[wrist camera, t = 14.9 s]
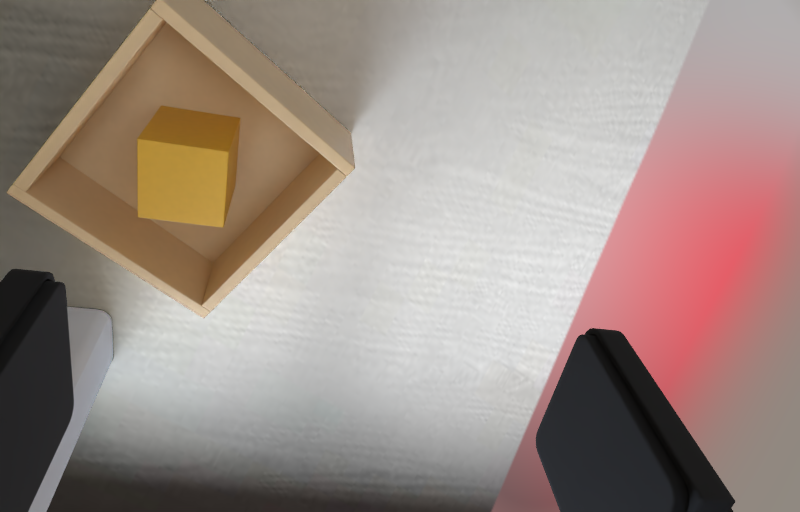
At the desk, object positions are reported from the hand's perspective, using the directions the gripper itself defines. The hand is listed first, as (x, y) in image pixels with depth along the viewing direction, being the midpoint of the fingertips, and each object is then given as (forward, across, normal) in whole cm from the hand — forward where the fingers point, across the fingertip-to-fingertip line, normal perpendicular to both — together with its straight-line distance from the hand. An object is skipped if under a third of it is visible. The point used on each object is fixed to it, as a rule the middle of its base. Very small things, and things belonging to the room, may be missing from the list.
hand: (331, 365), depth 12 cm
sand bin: (+28, +6, +7) cm, 30 cm away
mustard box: (+28, +6, +7) cm, 29 cm away
